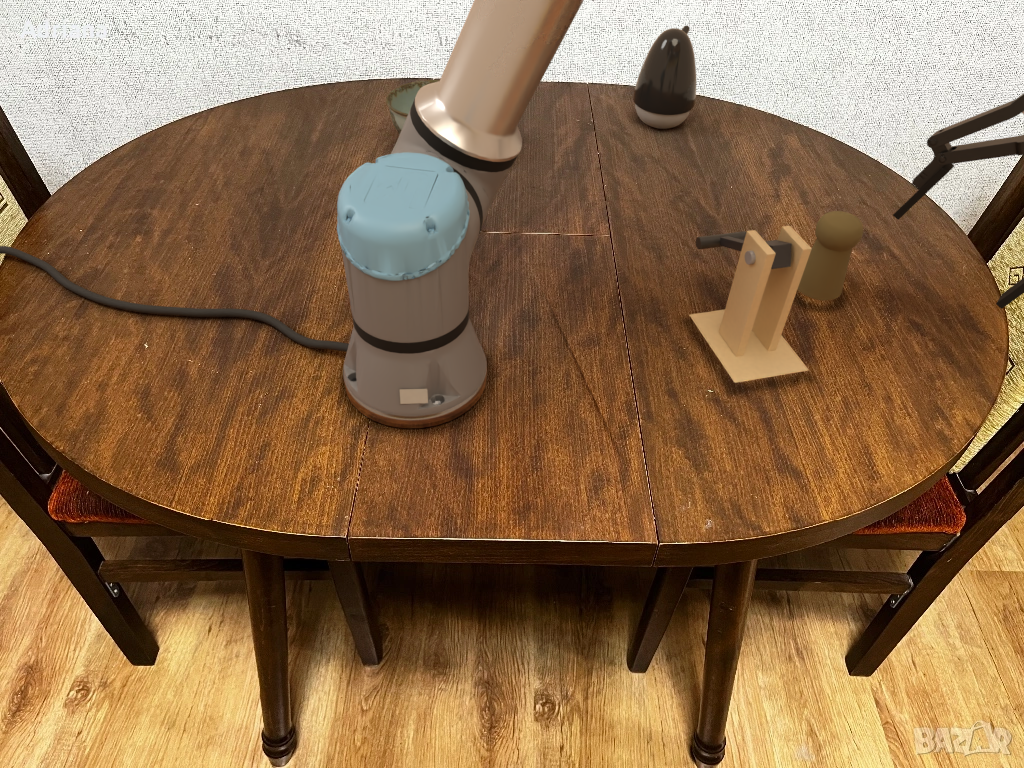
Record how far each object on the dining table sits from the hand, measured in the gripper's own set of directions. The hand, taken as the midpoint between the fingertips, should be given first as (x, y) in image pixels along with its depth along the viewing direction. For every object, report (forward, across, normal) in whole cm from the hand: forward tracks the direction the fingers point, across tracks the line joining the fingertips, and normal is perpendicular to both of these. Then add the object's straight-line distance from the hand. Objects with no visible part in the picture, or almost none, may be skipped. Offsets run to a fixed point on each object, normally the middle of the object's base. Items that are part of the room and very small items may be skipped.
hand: (949, 257), depth 80 cm
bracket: (+18, +8, +11) cm, 23 cm away
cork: (+16, +7, -4) cm, 18 cm away
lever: (+10, +15, +10) cm, 20 cm away
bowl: (+40, +65, 0) cm, 76 cm away
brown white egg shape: (+29, +45, -33) cm, 63 cm away
